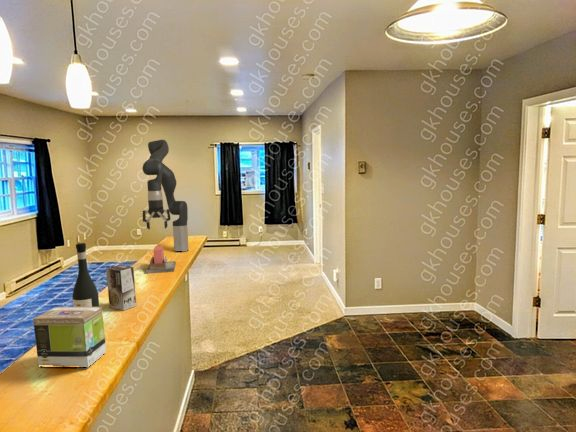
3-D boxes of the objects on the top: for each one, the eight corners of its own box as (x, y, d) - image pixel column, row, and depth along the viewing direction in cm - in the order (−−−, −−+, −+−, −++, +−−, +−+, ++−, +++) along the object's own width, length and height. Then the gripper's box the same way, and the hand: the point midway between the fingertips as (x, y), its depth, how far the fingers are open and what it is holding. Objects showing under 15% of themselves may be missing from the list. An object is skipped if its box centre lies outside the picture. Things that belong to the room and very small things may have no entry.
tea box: (107, 353, 122) (103, 305, 120) (87, 369, 112) (83, 318, 110) (60, 352, 123) (55, 305, 121) (37, 368, 113) (31, 317, 111)
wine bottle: (90, 333, 136) (82, 246, 133) (70, 332, 138) (61, 245, 134) (105, 324, 144) (98, 241, 141) (86, 323, 146) (78, 241, 142)
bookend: (165, 263, 228) (165, 256, 227) (173, 262, 229) (172, 255, 228) (164, 267, 218) (164, 260, 218) (172, 267, 219) (171, 259, 219)
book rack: (150, 265, 230) (149, 256, 229) (175, 263, 233) (175, 254, 232) (146, 273, 212) (145, 263, 212) (173, 271, 215) (173, 261, 215)
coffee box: (137, 305, 163) (134, 266, 161) (123, 311, 157) (120, 270, 155) (122, 302, 167) (119, 264, 165) (108, 307, 162) (105, 268, 160)
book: (154, 268, 216) (153, 250, 215) (156, 263, 228) (155, 246, 227) (162, 268, 217) (161, 249, 216) (164, 263, 229) (163, 245, 227)
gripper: (140, 200, 213) (142, 230, 215) (168, 199, 216) (170, 229, 218) (142, 199, 220) (144, 228, 222) (169, 198, 223) (171, 227, 225)
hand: (157, 228), depth 220 cm, fingers open, 8 cm apart
